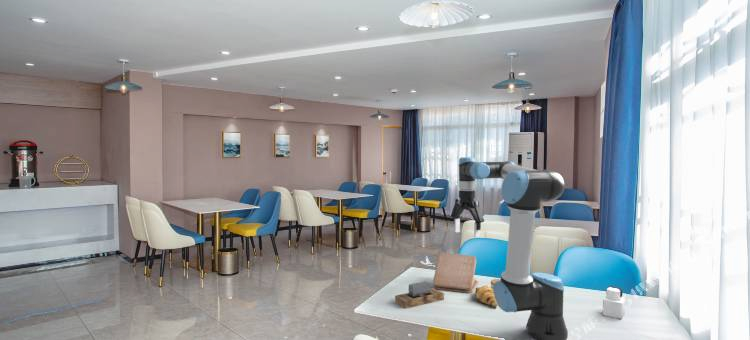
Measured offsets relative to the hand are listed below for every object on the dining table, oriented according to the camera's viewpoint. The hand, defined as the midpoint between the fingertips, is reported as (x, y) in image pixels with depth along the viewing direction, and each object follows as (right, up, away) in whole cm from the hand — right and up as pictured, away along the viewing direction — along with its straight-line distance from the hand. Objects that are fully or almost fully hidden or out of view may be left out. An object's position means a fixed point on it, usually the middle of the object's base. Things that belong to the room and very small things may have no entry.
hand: (466, 234), depth 208 cm
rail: (-22, -32, 0) cm, 39 cm away
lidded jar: (+18, -31, +3) cm, 36 cm away
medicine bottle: (+60, -32, -18) cm, 70 cm away
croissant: (+9, -32, -1) cm, 33 cm away
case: (-1, -31, +23) cm, 38 cm away
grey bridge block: (-23, -31, 0) cm, 39 cm away
